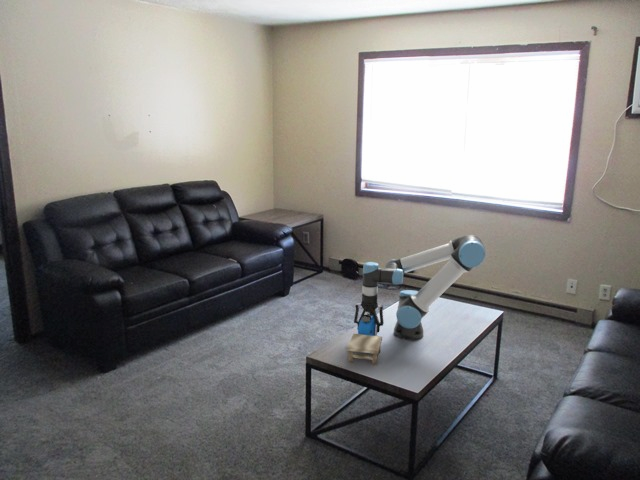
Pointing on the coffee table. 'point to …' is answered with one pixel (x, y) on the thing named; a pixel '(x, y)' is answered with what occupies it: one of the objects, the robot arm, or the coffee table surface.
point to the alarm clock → (367, 325)
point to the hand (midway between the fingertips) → (368, 337)
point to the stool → (364, 347)
